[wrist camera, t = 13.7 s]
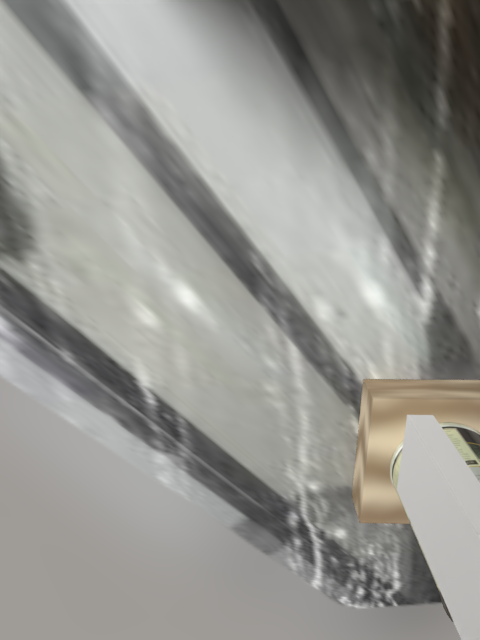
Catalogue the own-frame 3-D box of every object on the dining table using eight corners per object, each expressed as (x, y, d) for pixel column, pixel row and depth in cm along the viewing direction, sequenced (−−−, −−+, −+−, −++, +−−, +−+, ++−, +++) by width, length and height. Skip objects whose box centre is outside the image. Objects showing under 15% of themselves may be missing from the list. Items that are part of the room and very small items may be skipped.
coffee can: (505, 424, 44) (614, 541, 31) (478, 509, 48) (565, 647, 34) (398, 416, 44) (462, 530, 31) (379, 502, 48) (429, 637, 34)
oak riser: (363, 379, 47) (373, 399, 43) (510, 380, 47) (533, 400, 43) (351, 496, 52) (359, 522, 49) (484, 498, 52) (502, 524, 48)
